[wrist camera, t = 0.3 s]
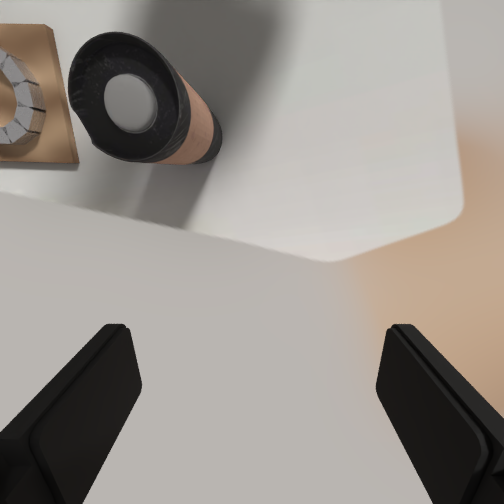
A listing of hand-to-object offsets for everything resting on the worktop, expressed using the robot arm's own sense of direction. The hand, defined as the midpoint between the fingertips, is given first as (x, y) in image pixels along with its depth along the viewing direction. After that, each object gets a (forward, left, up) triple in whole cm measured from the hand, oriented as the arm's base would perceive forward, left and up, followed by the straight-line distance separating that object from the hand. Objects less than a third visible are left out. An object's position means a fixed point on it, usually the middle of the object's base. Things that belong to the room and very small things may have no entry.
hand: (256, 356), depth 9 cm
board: (-14, -35, -31) cm, 49 cm away
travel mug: (-10, -9, -31) cm, 34 cm away
